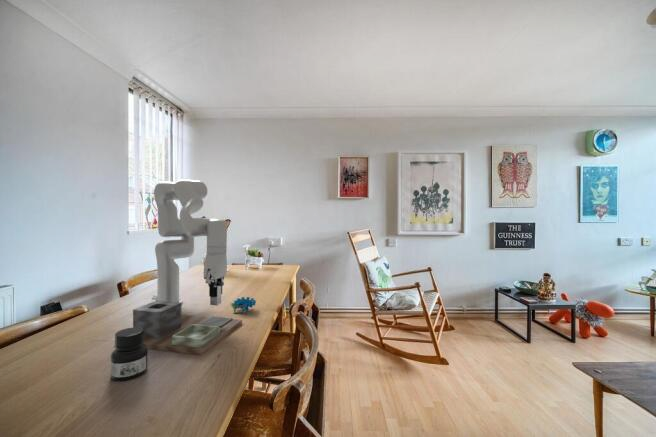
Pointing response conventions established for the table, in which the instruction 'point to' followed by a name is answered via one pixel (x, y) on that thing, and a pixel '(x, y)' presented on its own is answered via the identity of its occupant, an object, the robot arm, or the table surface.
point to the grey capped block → (217, 299)
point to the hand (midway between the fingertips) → (215, 294)
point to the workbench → (180, 328)
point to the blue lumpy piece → (243, 304)
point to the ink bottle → (129, 354)
